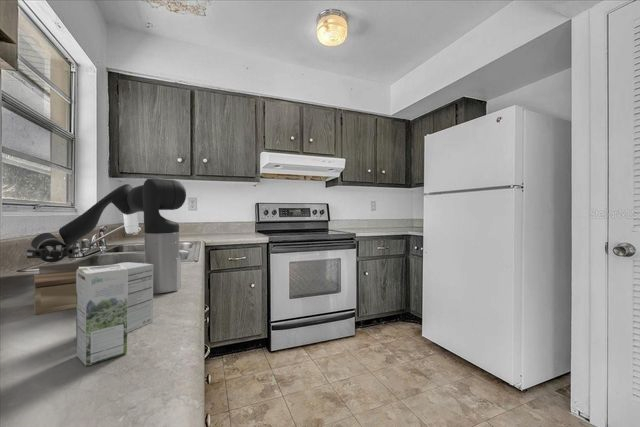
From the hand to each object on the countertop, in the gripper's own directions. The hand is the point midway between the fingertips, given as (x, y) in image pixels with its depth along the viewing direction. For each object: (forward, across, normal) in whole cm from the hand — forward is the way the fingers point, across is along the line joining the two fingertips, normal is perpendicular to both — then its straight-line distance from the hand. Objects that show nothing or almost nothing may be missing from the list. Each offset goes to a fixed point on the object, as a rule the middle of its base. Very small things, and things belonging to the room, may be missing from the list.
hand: (55, 254), depth 88 cm
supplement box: (+46, -8, -12) cm, 48 cm away
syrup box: (+58, -3, -12) cm, 59 cm away
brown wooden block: (+17, 0, -5) cm, 18 cm away
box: (+18, 0, -11) cm, 21 cm away
